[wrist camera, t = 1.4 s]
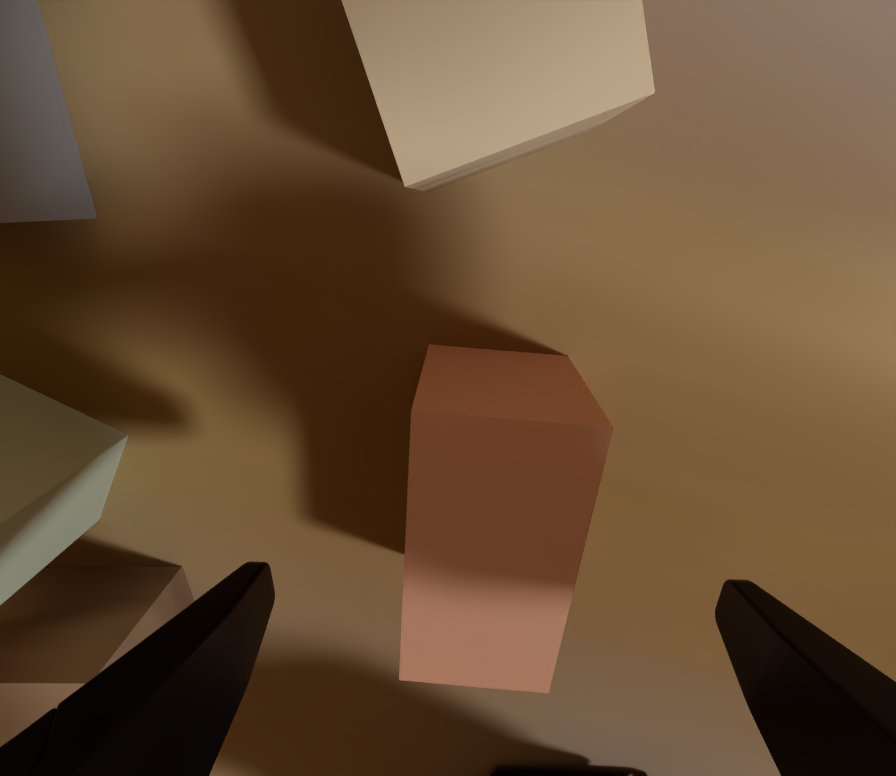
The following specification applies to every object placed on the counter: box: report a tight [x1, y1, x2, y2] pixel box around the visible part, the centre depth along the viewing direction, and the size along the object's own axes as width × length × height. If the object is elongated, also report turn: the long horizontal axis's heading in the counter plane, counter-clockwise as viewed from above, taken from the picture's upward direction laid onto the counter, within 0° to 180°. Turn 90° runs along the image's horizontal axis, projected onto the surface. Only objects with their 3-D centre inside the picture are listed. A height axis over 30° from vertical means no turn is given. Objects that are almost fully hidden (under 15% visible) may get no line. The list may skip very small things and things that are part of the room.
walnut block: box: [0, 566, 194, 747], centre depth 14 cm, size 7×4×4 cm, turn 93°
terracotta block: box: [399, 344, 613, 693], centre depth 11 cm, size 7×4×4 cm, turn 176°
